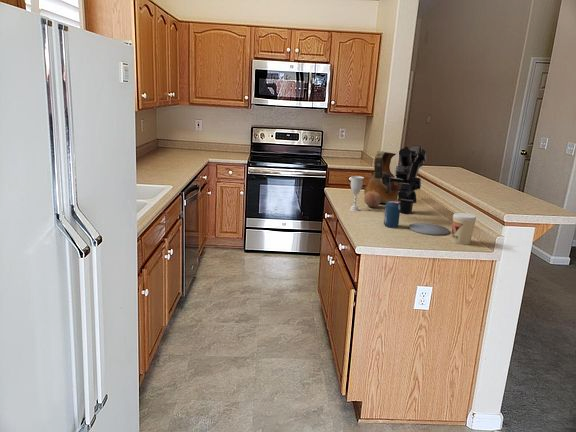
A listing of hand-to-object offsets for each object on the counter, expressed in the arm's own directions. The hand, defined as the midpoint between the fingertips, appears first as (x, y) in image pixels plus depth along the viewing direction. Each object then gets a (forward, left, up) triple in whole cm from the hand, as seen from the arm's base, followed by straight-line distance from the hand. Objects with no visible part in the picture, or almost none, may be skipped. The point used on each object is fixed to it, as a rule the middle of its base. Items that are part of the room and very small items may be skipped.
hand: (397, 194), depth 224 cm
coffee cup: (-6, +36, -14) cm, 39 cm away
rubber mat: (-7, +16, -14) cm, 23 cm away
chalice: (+2, -28, -14) cm, 32 cm away
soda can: (+6, +5, -14) cm, 16 cm away
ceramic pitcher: (-27, -40, -14) cm, 50 cm away
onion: (-12, -30, -14) cm, 35 cm away
